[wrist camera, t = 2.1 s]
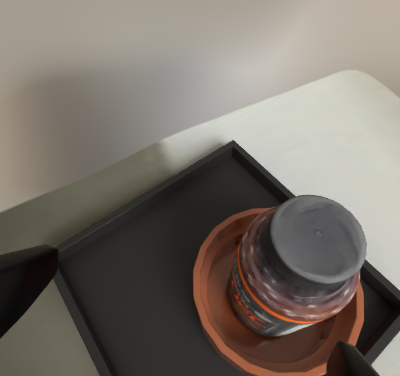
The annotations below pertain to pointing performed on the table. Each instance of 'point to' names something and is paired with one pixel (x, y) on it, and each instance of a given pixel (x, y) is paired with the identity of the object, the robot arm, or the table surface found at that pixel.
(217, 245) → the bowl
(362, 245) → the supplement bottle
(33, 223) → the table surface
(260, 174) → the tray
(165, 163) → the table surface
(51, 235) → the table surface
